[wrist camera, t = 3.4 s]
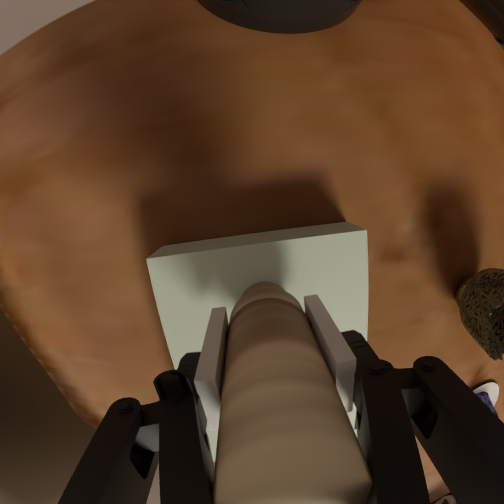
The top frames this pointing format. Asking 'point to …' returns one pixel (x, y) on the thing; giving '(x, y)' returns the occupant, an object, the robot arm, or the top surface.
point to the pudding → (493, 395)
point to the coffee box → (446, 500)
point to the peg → (282, 412)
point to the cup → (483, 309)
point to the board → (259, 280)
